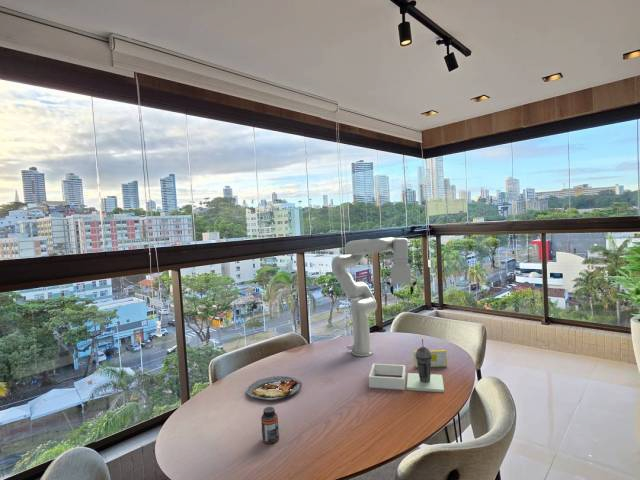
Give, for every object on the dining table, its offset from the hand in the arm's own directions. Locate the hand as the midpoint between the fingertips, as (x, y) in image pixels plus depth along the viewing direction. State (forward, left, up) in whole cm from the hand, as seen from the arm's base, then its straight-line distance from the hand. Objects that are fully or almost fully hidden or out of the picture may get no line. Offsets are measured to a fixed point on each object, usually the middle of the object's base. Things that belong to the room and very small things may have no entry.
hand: (401, 294), depth 190 cm
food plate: (-58, -39, -38) cm, 80 cm away
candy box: (+13, 0, -38) cm, 40 cm away
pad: (+10, -21, -38) cm, 44 cm away
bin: (-7, -21, -38) cm, 44 cm away
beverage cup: (+10, -20, -37) cm, 43 cm away
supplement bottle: (-44, -76, -38) cm, 95 cm away
